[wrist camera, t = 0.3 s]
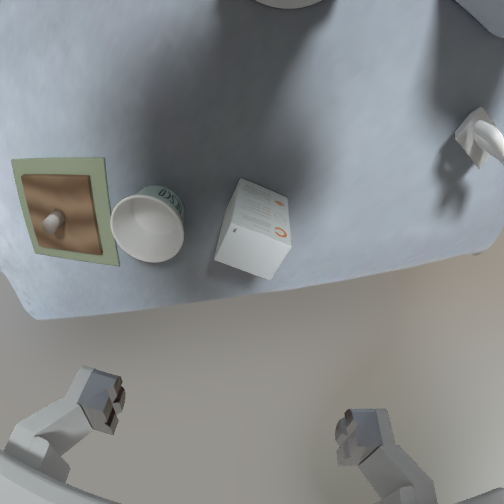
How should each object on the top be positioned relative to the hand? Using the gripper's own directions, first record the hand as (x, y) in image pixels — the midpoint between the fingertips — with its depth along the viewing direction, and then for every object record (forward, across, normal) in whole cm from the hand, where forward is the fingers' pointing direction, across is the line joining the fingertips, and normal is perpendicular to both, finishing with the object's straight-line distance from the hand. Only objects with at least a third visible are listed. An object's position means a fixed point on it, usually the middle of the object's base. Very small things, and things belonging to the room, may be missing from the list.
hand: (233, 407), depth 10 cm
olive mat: (+40, +35, +15) cm, 56 cm away
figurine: (+39, -31, -12) cm, 51 cm away
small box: (+41, 0, +9) cm, 42 cm away
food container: (+41, +16, +12) cm, 45 cm away
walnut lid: (+40, +35, +15) cm, 56 cm away
